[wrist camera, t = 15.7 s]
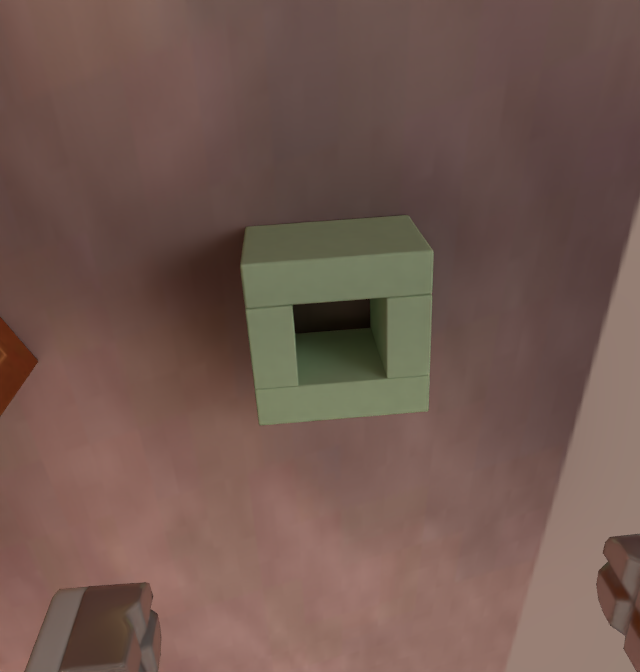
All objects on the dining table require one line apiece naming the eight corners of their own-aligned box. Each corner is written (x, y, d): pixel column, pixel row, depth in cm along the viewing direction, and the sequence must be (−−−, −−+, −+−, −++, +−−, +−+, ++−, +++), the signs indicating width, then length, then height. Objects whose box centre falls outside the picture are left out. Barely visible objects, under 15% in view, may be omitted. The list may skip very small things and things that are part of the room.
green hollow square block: (408, 214, 22) (434, 250, 19) (406, 356, 25) (429, 412, 22) (244, 225, 22) (239, 265, 19) (261, 368, 25) (258, 426, 21)
